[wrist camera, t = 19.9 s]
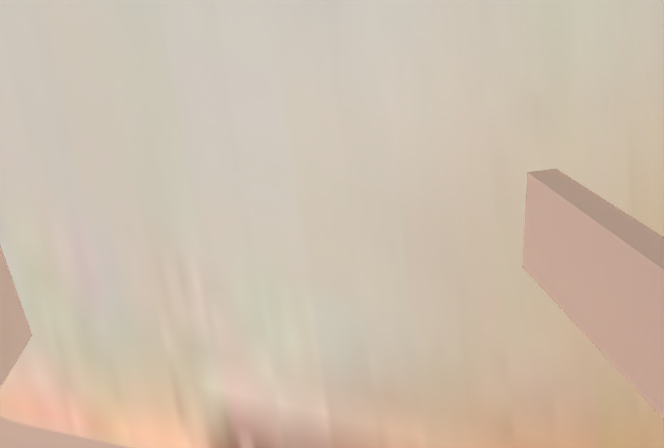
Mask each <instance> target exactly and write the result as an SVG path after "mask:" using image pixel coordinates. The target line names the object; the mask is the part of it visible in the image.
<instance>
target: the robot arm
mask: <svg viewBox="0 0 664 448" xmlns="http://www.w3.org/2000/svg"><path fill="white" fill-rule="evenodd" d="M522 267H523V268H524V269H525V270H526V271H527V273H528V274H529V275H530V276H531V277H532V278H533V279H534V280H535V281H536V282H537V283H538V284H539V286H540V287H541V288H542V289H543V290H544V291H545V292H546V293H547V294H548V295H549V296H550V297H551V298H552V300H553V301H554V302H555V303H556V304H557V305H558V306H559V307H560V308H561V309H562V310H563V311H564V313H565V314H566V315H567V316H568V317H569V318H570V319H571V320H572V321H573V322H574V323H575V324H576V326H577V327H578V328H579V329H580V330H581V331H582V332H583V333H584V334H585V335H586V336H587V337H588V338H589V340H590V341H591V342H592V343H593V344H594V345H595V346H596V347H597V348H598V349H599V350H600V351H601V353H602V354H603V355H604V356H605V357H606V358H607V359H608V360H609V361H610V362H611V363H612V364H613V366H614V367H615V368H616V369H617V370H618V371H619V372H620V373H621V374H622V375H623V376H624V377H625V379H626V380H627V381H628V382H629V383H630V384H631V385H632V386H633V387H634V388H635V389H636V390H637V391H638V393H639V394H640V395H641V396H642V397H643V398H644V399H645V400H646V401H647V402H648V403H649V404H650V406H651V407H652V408H653V409H654V410H655V411H656V412H657V413H658V414H659V415H660V416H661V417H662V419H663V420H664V237H662V236H661V235H659V234H658V233H656V232H654V231H653V230H651V229H650V228H648V227H647V226H645V225H643V224H642V223H640V222H639V221H637V220H636V219H634V218H633V217H631V216H629V215H628V214H626V213H625V212H623V211H622V210H620V209H618V208H617V207H615V206H614V205H612V204H611V203H609V202H607V201H606V200H604V199H603V198H601V197H600V196H598V195H596V194H595V193H593V192H592V191H590V190H589V189H587V188H585V187H584V186H582V185H581V184H579V183H578V182H576V181H574V180H573V179H571V178H570V177H568V176H567V175H565V174H563V173H562V172H560V171H559V170H557V169H551V170H543V171H535V172H528V174H527V193H526V211H525V230H524V248H523V266H522ZM31 336H32V334H31V331H30V328H29V325H28V322H27V319H26V317H25V314H24V311H23V308H22V305H21V302H20V300H19V297H18V294H17V291H16V288H15V285H14V283H13V280H12V277H11V274H10V271H9V268H8V266H7V263H6V260H5V257H4V254H3V251H2V249H1V246H0V387H1V385H2V384H3V382H4V381H5V379H6V377H7V376H8V374H9V372H10V371H11V369H12V367H13V366H14V364H15V363H16V361H17V359H18V358H19V356H20V354H21V353H22V351H23V350H24V348H25V346H26V345H27V343H28V341H29V340H30V338H31Z"/></svg>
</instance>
